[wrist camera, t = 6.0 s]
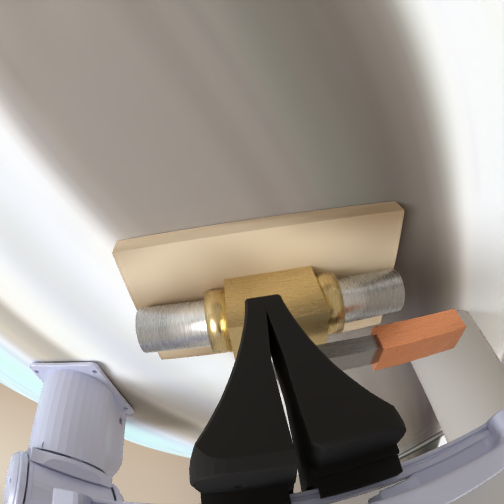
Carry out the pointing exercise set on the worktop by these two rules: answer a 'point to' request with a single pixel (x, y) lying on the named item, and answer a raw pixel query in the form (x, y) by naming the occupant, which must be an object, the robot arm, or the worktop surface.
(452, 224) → the worktop surface
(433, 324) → the valve lever
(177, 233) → the mount board
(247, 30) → the worktop surface
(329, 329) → the valve pipe
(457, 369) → the cup
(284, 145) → the worktop surface
